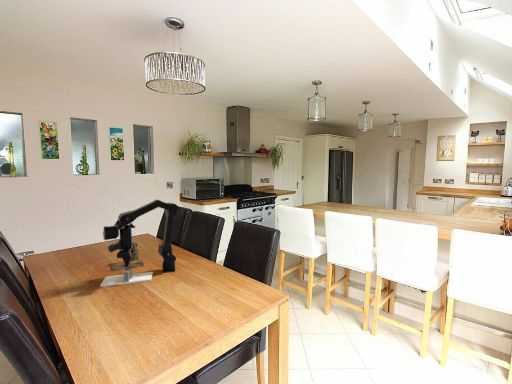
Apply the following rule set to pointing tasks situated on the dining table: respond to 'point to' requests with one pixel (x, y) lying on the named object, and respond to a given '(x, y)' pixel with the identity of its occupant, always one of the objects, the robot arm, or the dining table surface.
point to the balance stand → (127, 278)
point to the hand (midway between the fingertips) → (127, 265)
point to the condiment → (135, 253)
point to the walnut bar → (122, 266)
